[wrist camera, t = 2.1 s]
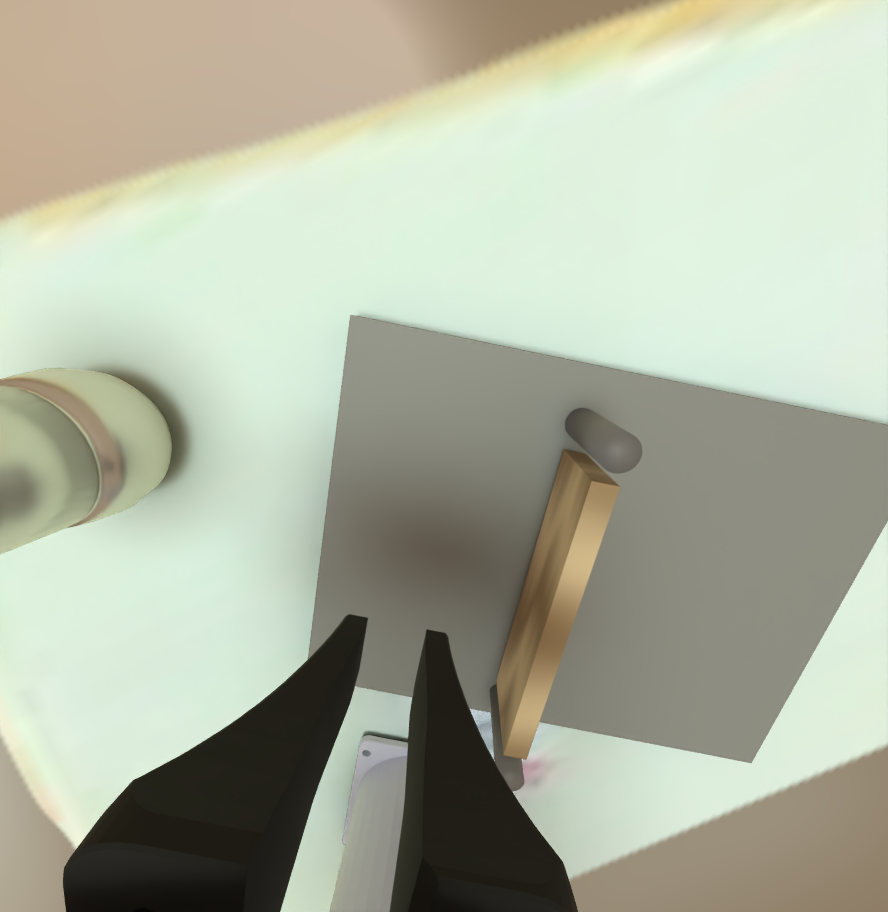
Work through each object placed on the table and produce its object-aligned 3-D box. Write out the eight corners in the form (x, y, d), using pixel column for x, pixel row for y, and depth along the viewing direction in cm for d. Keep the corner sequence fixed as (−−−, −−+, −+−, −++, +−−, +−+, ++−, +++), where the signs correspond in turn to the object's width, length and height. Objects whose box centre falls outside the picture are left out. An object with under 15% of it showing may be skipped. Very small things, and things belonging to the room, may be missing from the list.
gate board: (737, 742, 24) (821, 866, 18) (313, 659, 24) (267, 760, 18) (906, 428, 18) (1097, 469, 13) (357, 316, 18) (310, 308, 12)
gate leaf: (515, 683, 21) (526, 759, 18) (496, 680, 21) (503, 755, 18) (586, 454, 18) (620, 486, 14) (564, 449, 18) (591, 481, 14)
